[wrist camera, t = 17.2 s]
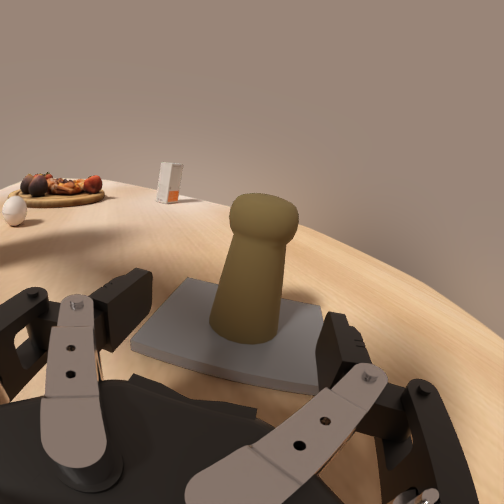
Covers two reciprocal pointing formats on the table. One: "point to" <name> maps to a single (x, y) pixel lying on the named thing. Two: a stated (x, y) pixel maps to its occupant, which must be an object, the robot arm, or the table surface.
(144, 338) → the slate tile
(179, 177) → the skincare box
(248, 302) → the cork
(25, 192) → the wooden plate with food
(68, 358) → the robot arm
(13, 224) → the white egg
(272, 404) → the table surface
